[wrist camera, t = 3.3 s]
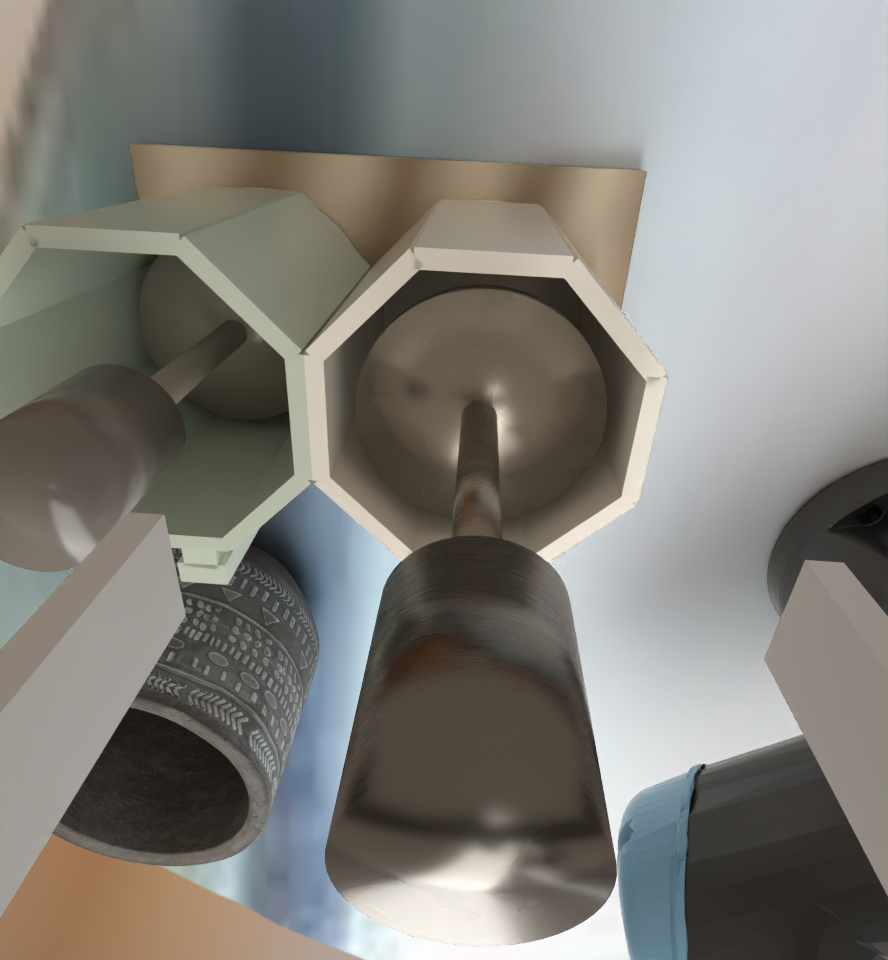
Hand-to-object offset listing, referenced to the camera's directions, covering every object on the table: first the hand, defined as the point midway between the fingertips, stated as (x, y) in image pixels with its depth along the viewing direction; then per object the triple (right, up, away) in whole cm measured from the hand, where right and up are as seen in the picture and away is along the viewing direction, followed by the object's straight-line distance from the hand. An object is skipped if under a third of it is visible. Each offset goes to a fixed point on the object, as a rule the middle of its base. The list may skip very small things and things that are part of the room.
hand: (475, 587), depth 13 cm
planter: (-16, -6, +31) cm, 35 cm away
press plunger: (+1, +5, +8) cm, 10 cm away
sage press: (-10, +10, +20) cm, 24 cm away
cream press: (+1, +9, +20) cm, 22 cm away
